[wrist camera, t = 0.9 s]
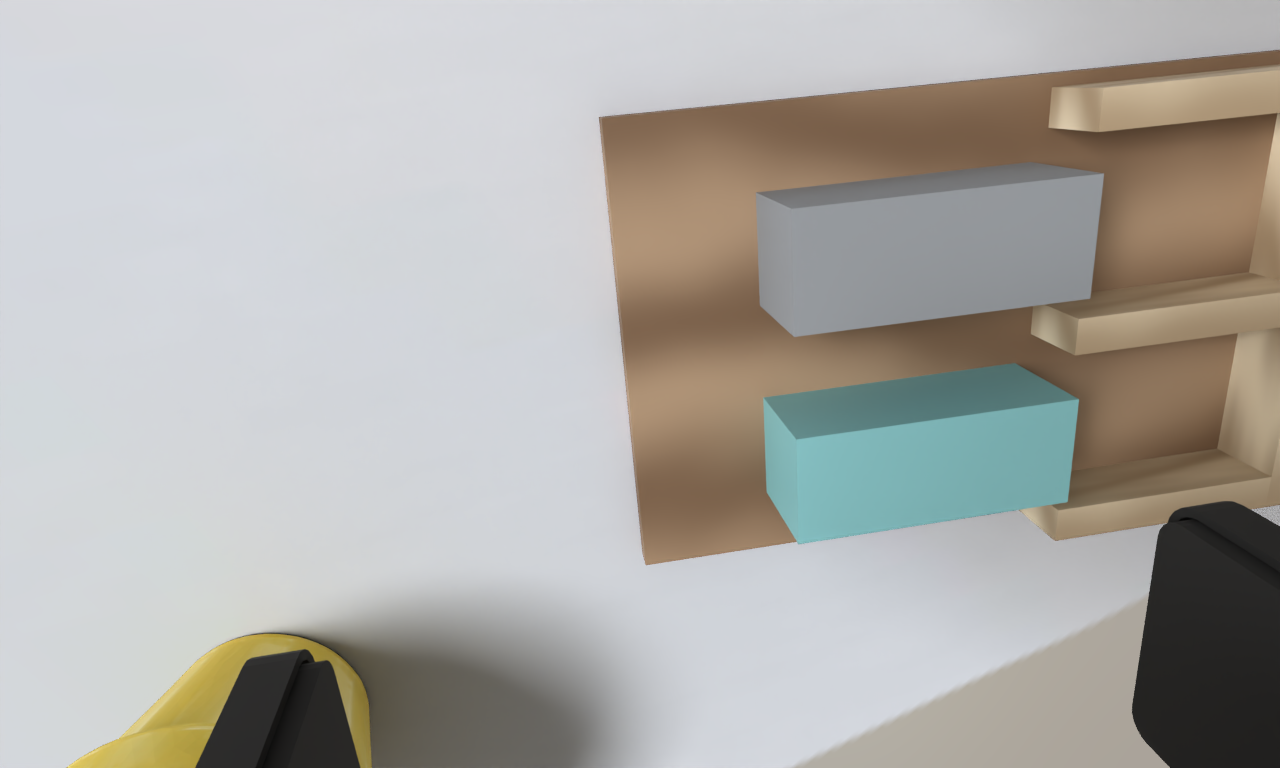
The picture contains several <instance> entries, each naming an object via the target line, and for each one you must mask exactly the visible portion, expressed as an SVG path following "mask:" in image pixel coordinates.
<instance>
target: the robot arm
mask: <svg viewBox="0 0 1280 768" xmlns="http://www.w3.org/2000/svg"><path fill="white" fill-rule="evenodd" d="M1132 714H1133V719H1134V722H1135V725H1136V727H1137V729H1138V731H1139V733H1140V734H1141V737H1142V738H1143V739H1144V740H1145V742H1146V743H1147V744H1148V745H1149V746H1150V747H1151V748H1152V749H1153V750H1154V751H1155V752H1156V753H1157V754H1158V755H1159V756H1160V758H1161V759H1162V760H1163V761H1164V762H1165V763H1166V764H1167V765H1168V766H1169V767H1170V768H1280V526H1278V525H1276V524H1274V523H1273V522H1271V521H1269V520H1268V519H1266V518H1264V517H1262V516H1261V515H1259V514H1257V513H1255V512H1254V511H1252V510H1250V509H1248V508H1247V507H1245V506H1243V505H1241V504H1239V503H1236V502H1233V501H1221V502H1214V503H1208V504H1202V505H1196V506H1190V507H1183V508H1180V509H1178V510H1176V511H1174V512H1173V513H1172V515H1171V516H1170V517H1169V520H1168V523H1167V524H1165V525H1163V527H1162V528H1161V529H1160V531H1159V534H1158V539H1157V545H1156V552H1155V559H1154V565H1153V572H1152V579H1151V585H1150V592H1149V598H1148V606H1147V612H1146V619H1145V625H1144V631H1143V638H1142V646H1141V651H1140V658H1139V665H1138V671H1137V678H1136V685H1135V691H1134V698H1133V704H1132ZM195 768H360V764H359V760H358V756H357V753H356V749H355V745H354V742H353V738H352V734H351V731H350V727H349V723H348V720H347V716H346V712H345V708H344V705H343V701H342V697H341V694H340V690H339V686H338V683H337V679H336V675H335V672H334V669H333V666H332V664H331V663H330V661H328V660H324V661H318V662H315V660H314V658H313V656H312V654H311V653H310V651H309V650H306V649H302V650H296V651H290V652H284V653H277V654H271V655H265V656H259V657H252V658H250V659H248V660H247V661H246V662H245V664H244V665H243V667H242V669H241V671H240V673H239V675H238V677H237V679H236V682H235V684H234V686H233V688H232V690H231V692H230V694H229V696H228V699H227V701H226V703H225V705H224V707H223V709H222V711H221V714H220V716H219V718H218V720H217V722H216V724H215V726H214V728H213V731H212V733H211V735H210V737H209V739H208V741H207V743H206V745H205V748H204V750H203V752H202V754H201V756H200V758H199V760H198V762H197V765H196V767H195Z"/></svg>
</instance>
